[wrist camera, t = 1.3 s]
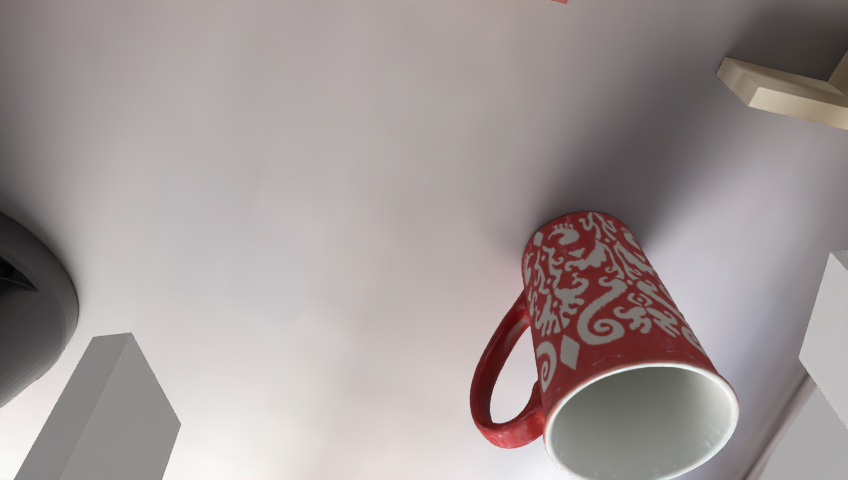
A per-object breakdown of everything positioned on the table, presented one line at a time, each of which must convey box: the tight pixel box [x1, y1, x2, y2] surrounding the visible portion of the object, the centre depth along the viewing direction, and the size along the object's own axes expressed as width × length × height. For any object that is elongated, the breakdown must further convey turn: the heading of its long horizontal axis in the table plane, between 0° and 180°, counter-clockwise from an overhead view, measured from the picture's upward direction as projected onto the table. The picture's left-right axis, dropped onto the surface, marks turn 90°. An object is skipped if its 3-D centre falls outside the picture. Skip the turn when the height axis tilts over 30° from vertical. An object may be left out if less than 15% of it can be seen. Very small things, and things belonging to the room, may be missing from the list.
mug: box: [470, 212, 739, 480], centre depth 36 cm, size 13×9×14 cm
